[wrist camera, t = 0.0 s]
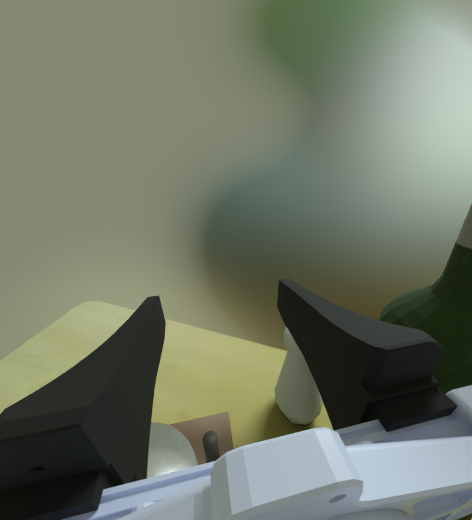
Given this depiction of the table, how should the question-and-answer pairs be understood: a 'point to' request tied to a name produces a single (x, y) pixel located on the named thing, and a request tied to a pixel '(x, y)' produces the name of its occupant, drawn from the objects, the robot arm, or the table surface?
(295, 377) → the salt shaker
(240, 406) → the table surface
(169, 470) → the silver pot lid
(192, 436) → the walnut board
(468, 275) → the wine bottle
